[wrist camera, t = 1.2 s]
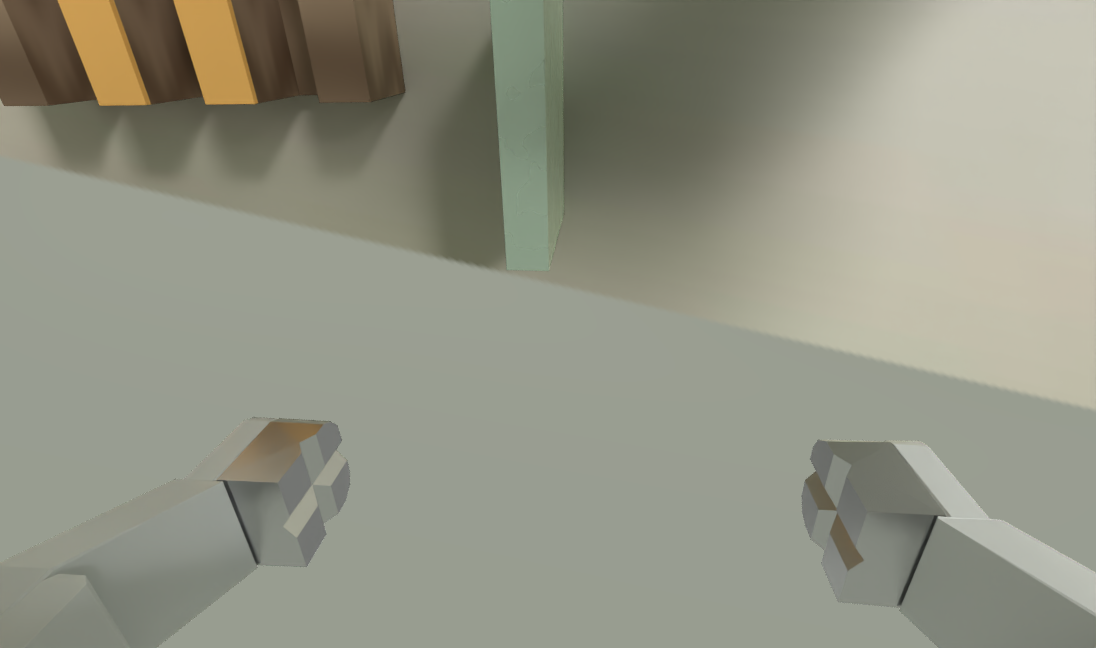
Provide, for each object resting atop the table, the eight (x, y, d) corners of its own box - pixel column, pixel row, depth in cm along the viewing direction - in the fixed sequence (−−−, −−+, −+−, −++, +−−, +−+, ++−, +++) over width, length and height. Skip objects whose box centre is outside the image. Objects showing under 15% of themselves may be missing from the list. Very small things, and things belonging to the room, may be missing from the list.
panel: (523, -17, 27) (487, -38, 19) (562, -18, 27) (542, -39, 19) (531, 213, 33) (506, 269, 25) (564, 213, 32) (548, 271, 25)
